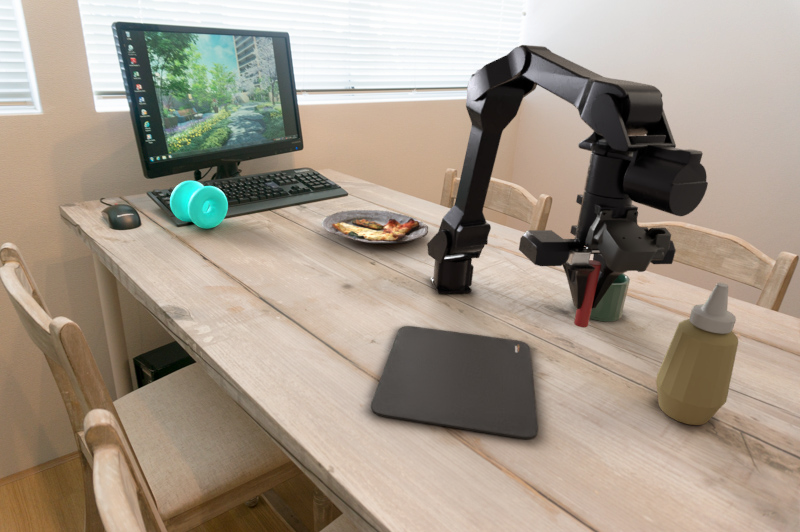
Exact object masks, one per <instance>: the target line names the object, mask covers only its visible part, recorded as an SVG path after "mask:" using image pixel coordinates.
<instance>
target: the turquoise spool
mask: <svg viewBox="0 0 800 532" xmlns="http://www.w3.org/2000/svg"><path fill="white" fill-rule="evenodd" d="M169 207H170V210H171V212H172V214H173V215H174V216H175V218H177V219H178V220H180V221H181V222H185V223H193V224H194V225H195V226H197V227H199V228H201V229H207V230H209V229H213V228H215V227H217V226H219V225H220V224H221V223H222V222H223V221H224V219H225V218H226V216H227V214H228V209H229V203H228V198H227V196H226V194H225V193H224V191H222V190H221V189H220V188H218V187H217V186H214V185H204V184H203V183H201V182H199V181H197V180H190V179H189V180H185V181H182V182H180V183H178V185H176V186H175V187H174V189H173V190H172V192H171V195H170V198H169Z"/></svg>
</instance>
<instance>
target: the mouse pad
mask: <svg viewBox="0 0 800 532" xmlns="http://www.w3.org/2000/svg"><path fill="white" fill-rule="evenodd" d="M390 349H391V350H390V352H389V355H388V357H387V360H386V363H385V366H384V367H383V370H382V372H381V373H382V374H381V377H380V379H379V382H378V384H377V387H376V389H375V392H374V394H373V398H372V400H371V404H370V408H371V409H370V410H371V411H372V413H373V414H375V415H377V416H380V417H385V418H390V419H398V420H404V421H410V422H414V423H415V422H416V423H423V424H429V425H433V426H434V425H435V426H441V427H446V428H452V429H459V430H465V431H470V432H471V431H472V432H478V433H484V434H489V435H490V434H491V435H495V436H497V435H498V436H502V437H510V438H516V439H521V440H531V439H534V438H535V437H537V435H538V430H539V426H538V425H539V424H538V416H537V415H538V414H537V405H536V396H535V384H534V376H533V365H532V355H531V348H530V345H529V344H528V343H526V342H524V341H521V340H517V339H510V338H503V337H495V336H488V335H481V334H480V335H479V334H473V333H467V332H466V333H465V332H459V331H458V332H457V331H450V330H445V329H444V330H442V329H435V328H429V327H427V328H426V327H420V326H413V325H404V326H401V327H400V328H399V329H398V331H397V334H396V336H395V339H394V341H393V344H392V347H391V348H390Z"/></svg>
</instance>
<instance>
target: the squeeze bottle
mask: <svg viewBox="0 0 800 532" xmlns="http://www.w3.org/2000/svg"><path fill="white" fill-rule="evenodd" d="M728 301H729V285H728V284H727V283H724V282H717V283H716V285H715V286H714V288H713V289H712V291H711V293H710V294H709V296H708V298H707V299H706V300H705V302H704V304H696V305H693V306H692V308H691V312H690V314H689V318H687V319H684V320H682V321H680V322H678V325H677V327H676V329H675V332H674V334H673V336H672V338H671V341H670V343H669V346H668V348H667V351H666V352H665V356H664V358H663V360H662V363H661V365H660V367H659V369H658V371H657V375H656V379H655V384H656V392H657V401H658V406H659V408H660V410H661V411H662V412H663V413H664V414H665V415H666V416H668V417H669V418H671V419H673V420H675V421H677V422H679V423H683V424H686V425H690V426H691V425H693V426H700V425H705V424H706V423H707V422H709V421H710V420H711V418H712V417H714V416H715V415H716V413H717V412H718V411H719V410H720V409H721V408H722V407H723V406H724V405H725V404H726V403H727V400H728V394H729V390H730V385H731V384H730V383H731V380H732V376H733V370H734V365H735V361H736V357H737V352H738V350H737V349H738V346H739V337H738V336H737V334H736V333H734V331H733V330H734V327H735V324H736V321H737V317H736V316H735V315H734V313H732V312H730V311H729V310H728V304H729V302H728Z"/></svg>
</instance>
